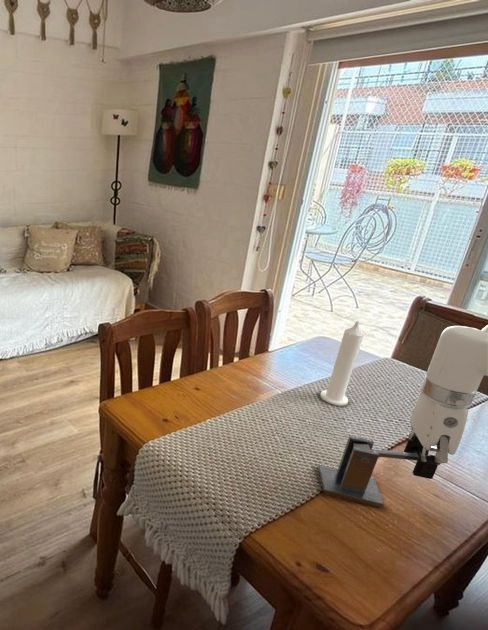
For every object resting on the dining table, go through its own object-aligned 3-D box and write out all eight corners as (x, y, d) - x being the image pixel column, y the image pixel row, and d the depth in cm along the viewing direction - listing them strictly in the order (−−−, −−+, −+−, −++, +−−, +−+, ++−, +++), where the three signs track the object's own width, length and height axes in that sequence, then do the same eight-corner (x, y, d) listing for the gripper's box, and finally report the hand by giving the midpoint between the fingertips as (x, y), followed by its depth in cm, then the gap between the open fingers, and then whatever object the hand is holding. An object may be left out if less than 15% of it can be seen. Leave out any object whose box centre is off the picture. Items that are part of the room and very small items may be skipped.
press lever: (418, 454, 91) (419, 444, 90) (426, 470, 87) (428, 460, 86) (350, 448, 95) (351, 438, 95) (355, 463, 91) (356, 453, 90)
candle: (324, 389, 133) (347, 313, 123) (350, 399, 128) (376, 321, 118) (316, 398, 128) (339, 320, 118) (343, 408, 124) (369, 328, 114)
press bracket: (372, 481, 98) (388, 439, 93) (382, 508, 91) (400, 464, 86) (317, 468, 101) (330, 427, 97) (323, 493, 94) (337, 450, 90)
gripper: (494, 421, 74) (456, 502, 81) (452, 372, 89) (423, 444, 96) (441, 411, 76) (408, 491, 83) (408, 366, 91) (383, 437, 98)
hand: (417, 465), depth 89 cm, fingers closed on press lever, 5 cm apart
